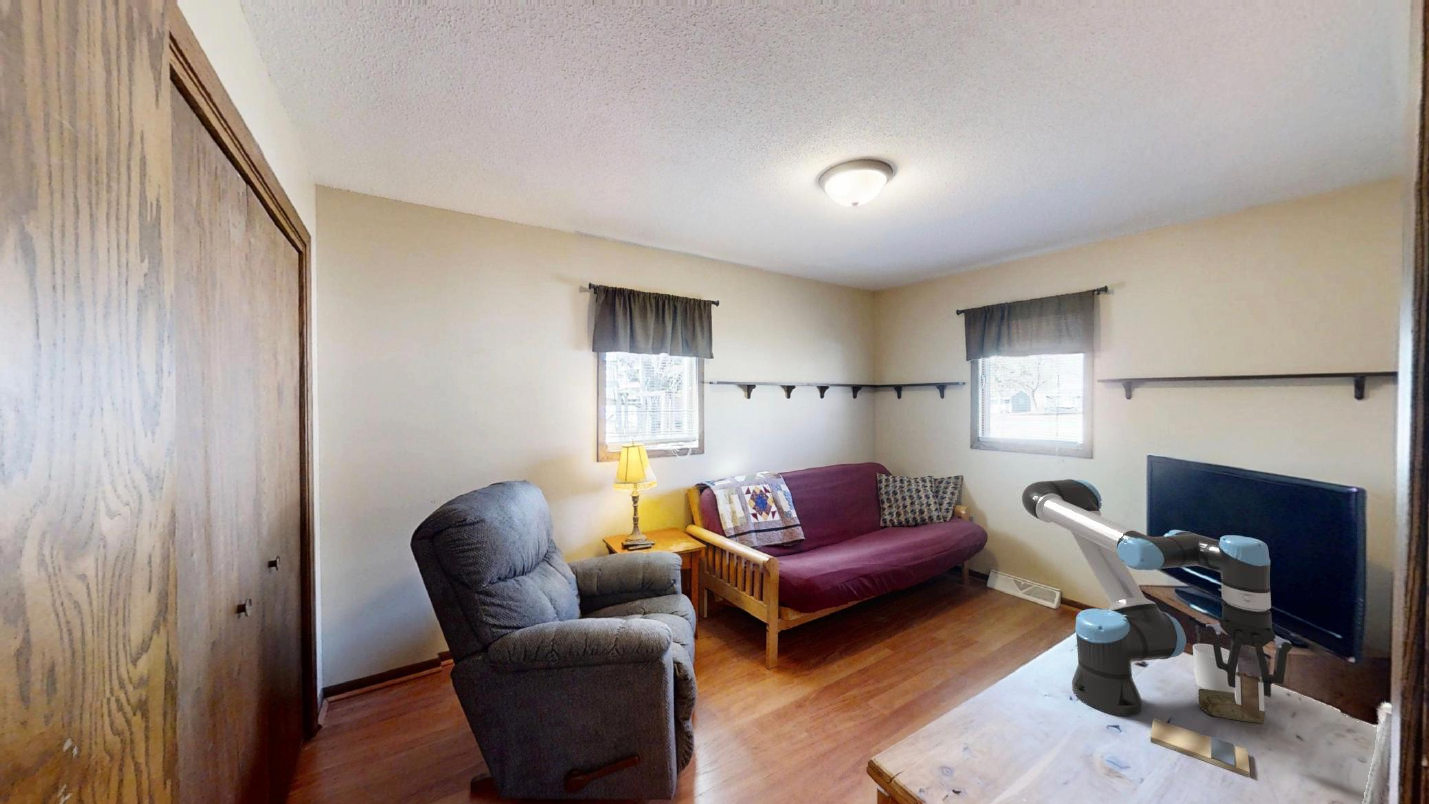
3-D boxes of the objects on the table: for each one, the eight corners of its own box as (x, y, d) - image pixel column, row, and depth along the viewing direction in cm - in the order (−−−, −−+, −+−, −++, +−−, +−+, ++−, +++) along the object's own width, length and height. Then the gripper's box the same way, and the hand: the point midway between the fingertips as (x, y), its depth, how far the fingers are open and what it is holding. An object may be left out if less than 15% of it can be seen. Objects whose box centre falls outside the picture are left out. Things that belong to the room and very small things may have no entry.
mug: (1253, 690, 130) (1250, 652, 130) (1229, 701, 126) (1226, 662, 126) (1211, 674, 138) (1209, 638, 138) (1188, 684, 134) (1185, 647, 134)
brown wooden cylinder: (1240, 714, 107) (1238, 672, 107) (1238, 707, 110) (1236, 666, 110) (1262, 721, 105) (1260, 678, 105) (1260, 713, 107) (1258, 671, 107)
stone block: (1268, 726, 117) (1266, 706, 117) (1208, 718, 121) (1207, 698, 121) (1251, 712, 122) (1250, 693, 122) (1195, 704, 126) (1193, 686, 126)
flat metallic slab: (1150, 741, 113) (1150, 735, 113) (1160, 681, 136) (1160, 676, 136) (1250, 777, 102) (1249, 770, 102) (1242, 705, 124) (1242, 699, 124)
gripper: (1197, 601, 110) (1201, 698, 110) (1304, 621, 99) (1307, 729, 99) (1195, 590, 115) (1199, 683, 116) (1296, 608, 104) (1300, 711, 105)
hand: (1249, 704), depth 108 cm, fingers closed on brown wooden cylinder, 3 cm apart
